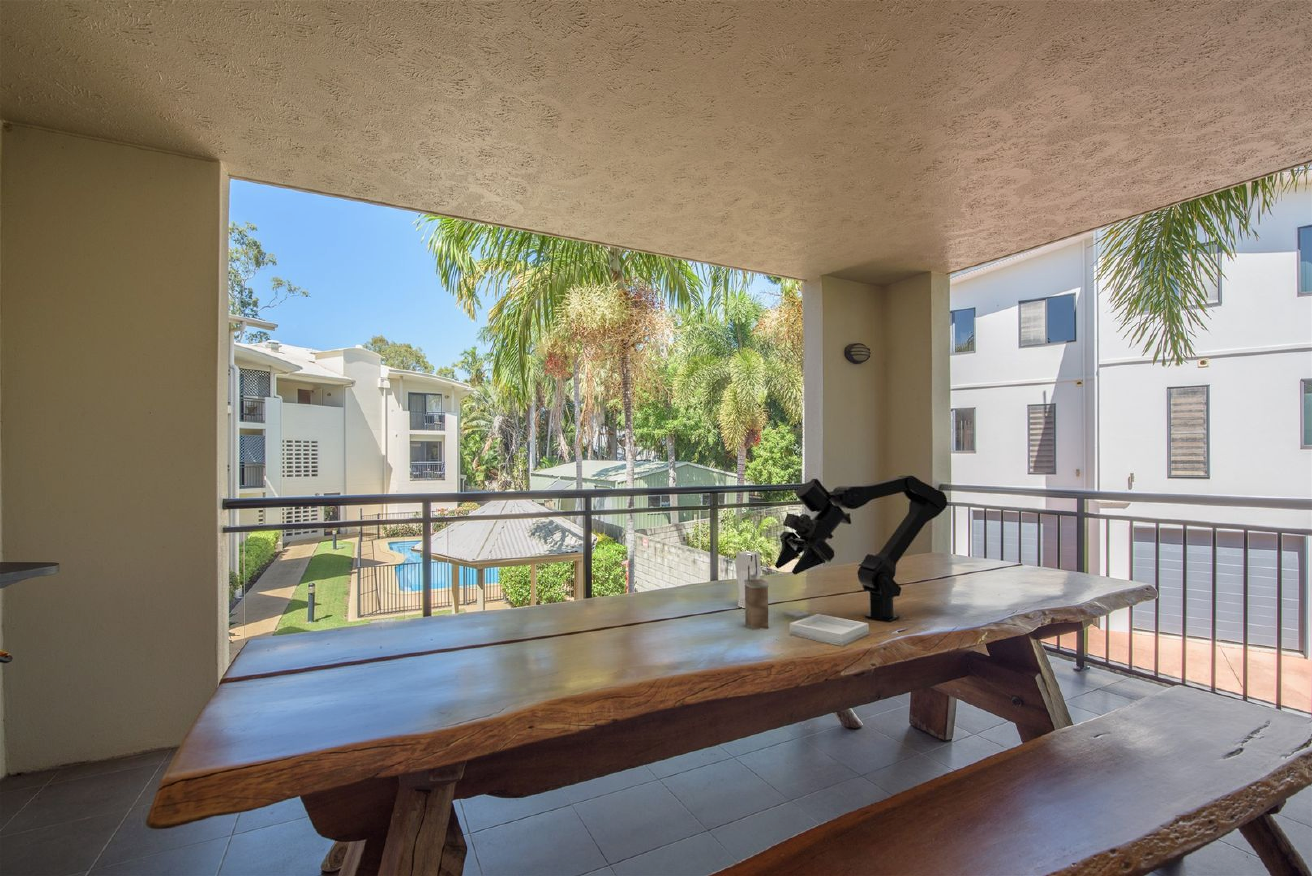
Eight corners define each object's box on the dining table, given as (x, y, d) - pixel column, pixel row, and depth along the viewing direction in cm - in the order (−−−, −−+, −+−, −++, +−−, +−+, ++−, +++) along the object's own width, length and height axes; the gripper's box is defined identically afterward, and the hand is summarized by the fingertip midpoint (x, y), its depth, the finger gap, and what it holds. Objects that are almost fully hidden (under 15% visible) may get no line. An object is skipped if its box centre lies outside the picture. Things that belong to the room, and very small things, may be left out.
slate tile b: (795, 612, 155) (795, 609, 155) (810, 616, 150) (810, 613, 151) (783, 615, 152) (783, 612, 152) (797, 619, 148) (797, 616, 148)
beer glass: (760, 604, 164) (759, 551, 165) (762, 609, 157) (761, 554, 158) (735, 603, 165) (735, 551, 166) (736, 609, 158) (736, 554, 159)
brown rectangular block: (761, 623, 142) (760, 579, 143) (768, 628, 138) (768, 582, 139) (744, 624, 141) (744, 579, 142) (752, 629, 137) (751, 583, 138)
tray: (817, 624, 142) (817, 613, 142) (868, 634, 133) (868, 623, 133) (789, 634, 133) (789, 623, 133) (841, 646, 124) (841, 634, 124)
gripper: (785, 500, 154) (748, 543, 151) (822, 504, 136) (780, 552, 132) (812, 529, 155) (776, 572, 152) (852, 536, 137) (811, 585, 134)
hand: (784, 570), depth 142 cm, fingers open, 9 cm apart
